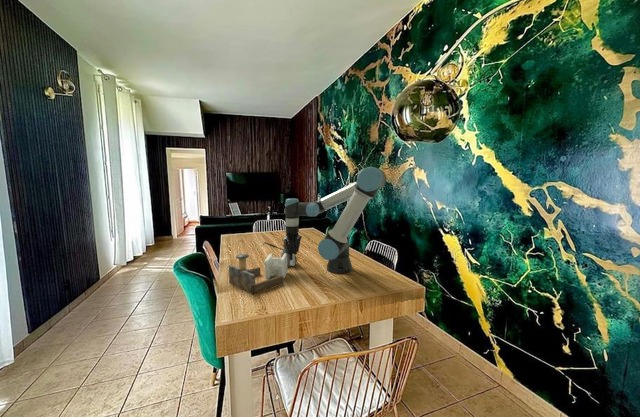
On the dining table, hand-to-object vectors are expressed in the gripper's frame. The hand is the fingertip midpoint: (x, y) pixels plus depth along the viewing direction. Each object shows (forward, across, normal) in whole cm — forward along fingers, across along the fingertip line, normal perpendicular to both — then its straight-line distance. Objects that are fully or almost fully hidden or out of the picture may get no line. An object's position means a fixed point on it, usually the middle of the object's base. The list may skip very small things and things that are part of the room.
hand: (292, 265), depth 153 cm
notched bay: (+4, +25, +1) cm, 25 cm away
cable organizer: (+4, +12, +1) cm, 13 cm away
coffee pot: (+4, -2, -15) cm, 16 cm away
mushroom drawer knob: (+4, +21, -19) cm, 29 cm away
